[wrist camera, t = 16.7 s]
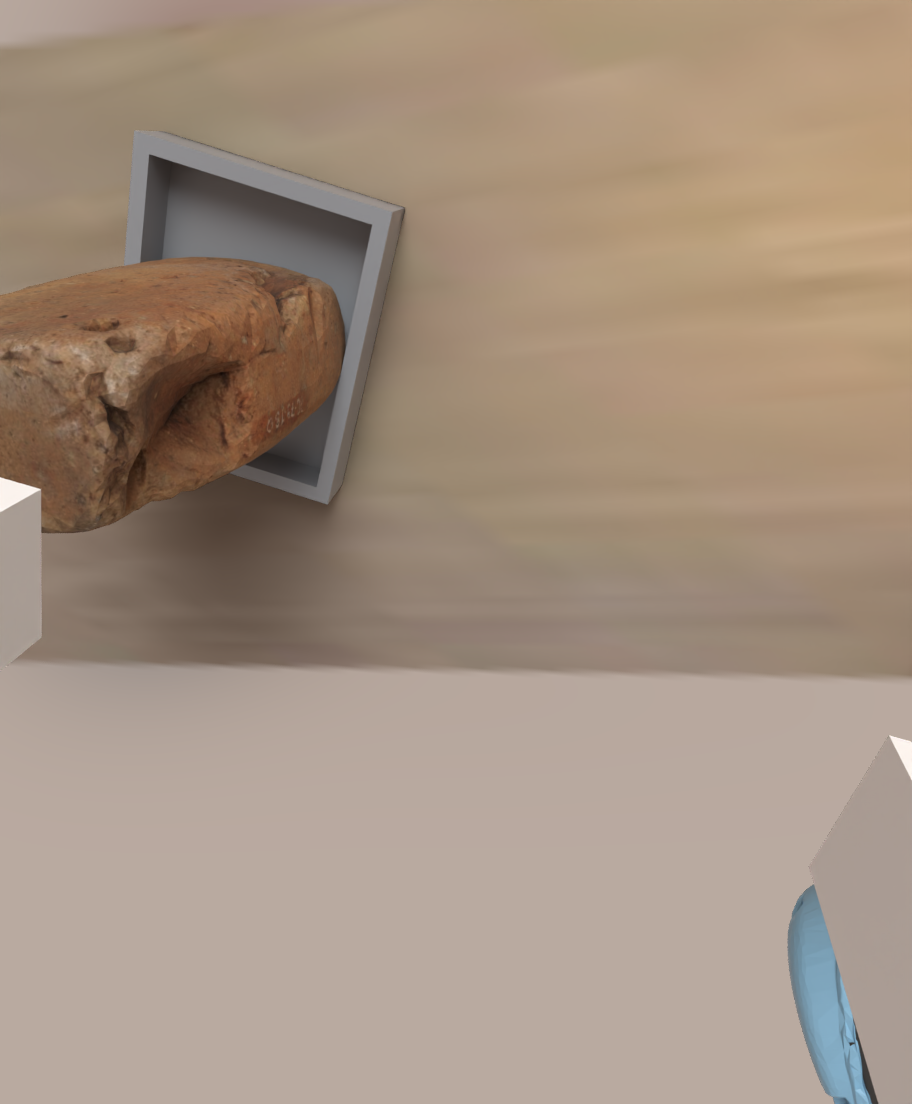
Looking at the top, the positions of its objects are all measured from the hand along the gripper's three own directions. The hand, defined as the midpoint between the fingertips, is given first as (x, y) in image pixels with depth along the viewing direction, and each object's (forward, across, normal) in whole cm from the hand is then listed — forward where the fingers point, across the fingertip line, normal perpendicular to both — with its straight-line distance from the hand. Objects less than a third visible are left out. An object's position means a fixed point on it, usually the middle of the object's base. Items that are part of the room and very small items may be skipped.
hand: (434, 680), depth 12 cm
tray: (+32, +15, +4) cm, 36 cm away
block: (+32, +15, +4) cm, 36 cm away
